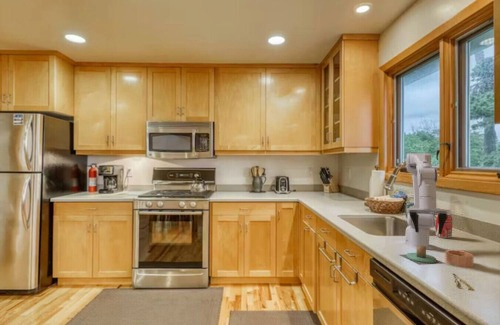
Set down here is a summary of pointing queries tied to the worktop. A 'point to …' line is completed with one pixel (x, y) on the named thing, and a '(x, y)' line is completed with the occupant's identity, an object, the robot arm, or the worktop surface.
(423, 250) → the lid
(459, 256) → the bowl
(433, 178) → the robot arm
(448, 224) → the soda can
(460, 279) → the tongs
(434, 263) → the mat
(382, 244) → the worktop surface
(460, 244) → the worktop surface
